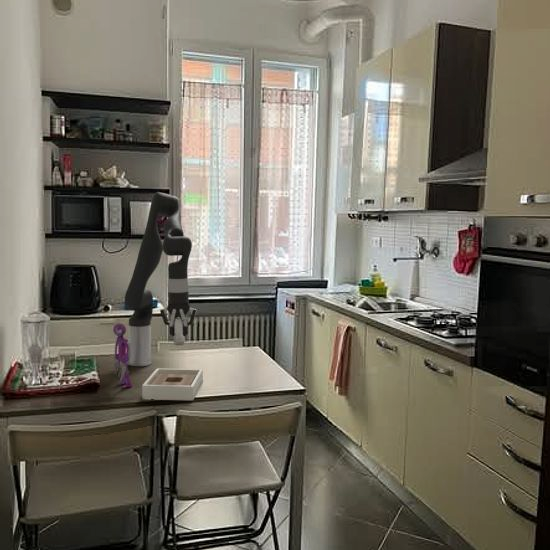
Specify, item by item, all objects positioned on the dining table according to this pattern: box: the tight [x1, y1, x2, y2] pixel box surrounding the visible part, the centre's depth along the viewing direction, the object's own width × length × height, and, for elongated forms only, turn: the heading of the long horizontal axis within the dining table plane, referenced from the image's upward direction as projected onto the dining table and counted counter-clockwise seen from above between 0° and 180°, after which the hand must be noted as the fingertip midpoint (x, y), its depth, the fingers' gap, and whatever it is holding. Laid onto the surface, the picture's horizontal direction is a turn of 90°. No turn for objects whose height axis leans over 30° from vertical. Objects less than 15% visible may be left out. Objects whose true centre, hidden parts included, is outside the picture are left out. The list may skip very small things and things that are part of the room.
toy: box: [112, 323, 133, 389], centre depth 213 cm, size 16×7×24 cm, turn 37°
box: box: [141, 367, 204, 401], centre depth 211 cm, size 18×22×5 cm
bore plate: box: [151, 374, 196, 386], centre depth 211 cm, size 14×14×3 cm
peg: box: [173, 317, 186, 346], centre depth 212 cm, size 4×4×10 cm
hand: (179, 335), depth 212 cm, fingers closed on peg, 4 cm apart
